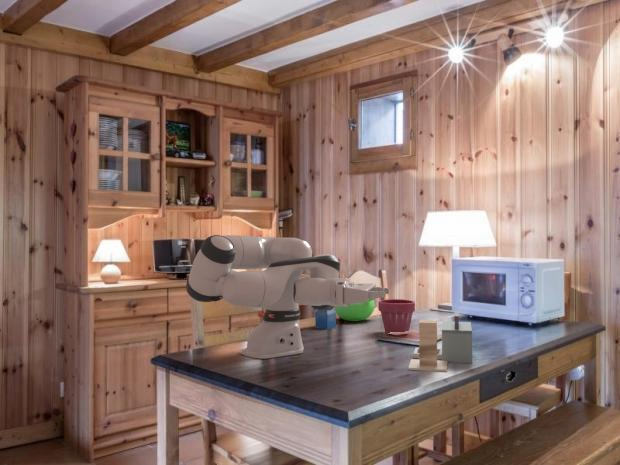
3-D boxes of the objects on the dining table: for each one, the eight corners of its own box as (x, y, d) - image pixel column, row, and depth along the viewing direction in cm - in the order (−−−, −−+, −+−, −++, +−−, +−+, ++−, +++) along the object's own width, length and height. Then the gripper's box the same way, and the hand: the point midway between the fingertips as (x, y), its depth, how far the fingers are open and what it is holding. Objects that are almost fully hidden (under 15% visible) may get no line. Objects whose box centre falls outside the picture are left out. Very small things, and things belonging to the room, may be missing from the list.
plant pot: (416, 330, 227) (416, 299, 227) (413, 337, 214) (413, 303, 214) (381, 329, 231) (381, 298, 231) (376, 336, 218) (375, 303, 218)
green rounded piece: (372, 317, 262) (371, 286, 261) (377, 323, 245) (377, 290, 245) (333, 318, 261) (332, 286, 261) (336, 324, 244) (335, 290, 244)
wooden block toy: (472, 363, 173) (471, 317, 172) (412, 360, 177) (412, 316, 177) (471, 351, 188) (470, 310, 188) (416, 349, 193) (415, 308, 192)
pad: (446, 371, 163) (446, 369, 163) (408, 369, 166) (408, 367, 166) (447, 362, 174) (447, 360, 174) (411, 361, 177) (411, 359, 177)
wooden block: (436, 366, 167) (436, 322, 167) (419, 365, 168) (419, 322, 168) (437, 362, 172) (436, 320, 172) (420, 361, 173) (420, 319, 173)
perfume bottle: (324, 325, 242) (324, 297, 242) (336, 327, 238) (335, 298, 238) (315, 327, 237) (315, 299, 237) (327, 329, 234) (326, 300, 233)
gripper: (349, 297, 186) (390, 298, 183) (336, 306, 167) (383, 307, 163) (348, 278, 186) (390, 279, 183) (336, 285, 166) (382, 285, 163)
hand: (387, 292), depth 173 cm, fingers open, 8 cm apart
